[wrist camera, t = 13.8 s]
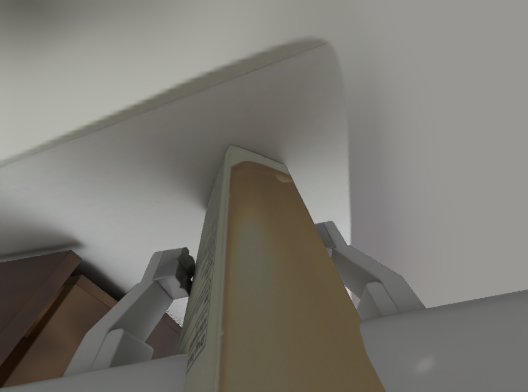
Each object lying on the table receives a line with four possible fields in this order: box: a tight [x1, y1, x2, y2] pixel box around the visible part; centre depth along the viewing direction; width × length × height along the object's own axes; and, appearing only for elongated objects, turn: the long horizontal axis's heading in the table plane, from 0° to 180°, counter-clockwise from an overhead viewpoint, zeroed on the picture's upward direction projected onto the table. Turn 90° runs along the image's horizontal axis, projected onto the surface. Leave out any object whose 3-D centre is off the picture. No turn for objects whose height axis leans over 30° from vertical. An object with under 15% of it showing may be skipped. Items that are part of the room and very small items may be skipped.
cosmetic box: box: [177, 145, 386, 392], centre depth 9 cm, size 6×4×12 cm
